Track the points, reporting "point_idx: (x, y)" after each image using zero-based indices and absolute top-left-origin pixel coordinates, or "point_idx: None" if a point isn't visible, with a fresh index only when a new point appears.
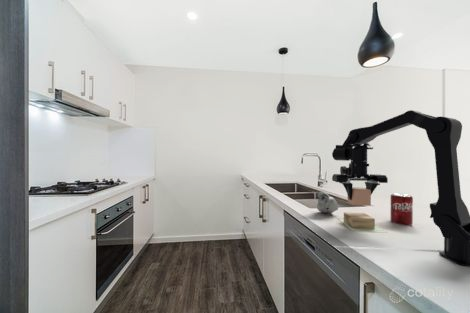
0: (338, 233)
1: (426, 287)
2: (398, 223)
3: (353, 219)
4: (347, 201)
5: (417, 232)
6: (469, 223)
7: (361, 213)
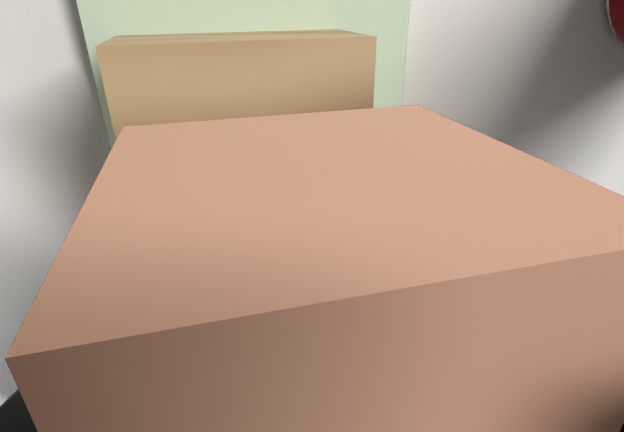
0: (15, 331)
1: None
2: (615, 31)
3: None
4: (121, 130)
5: (586, 178)
6: None
7: (331, 78)
